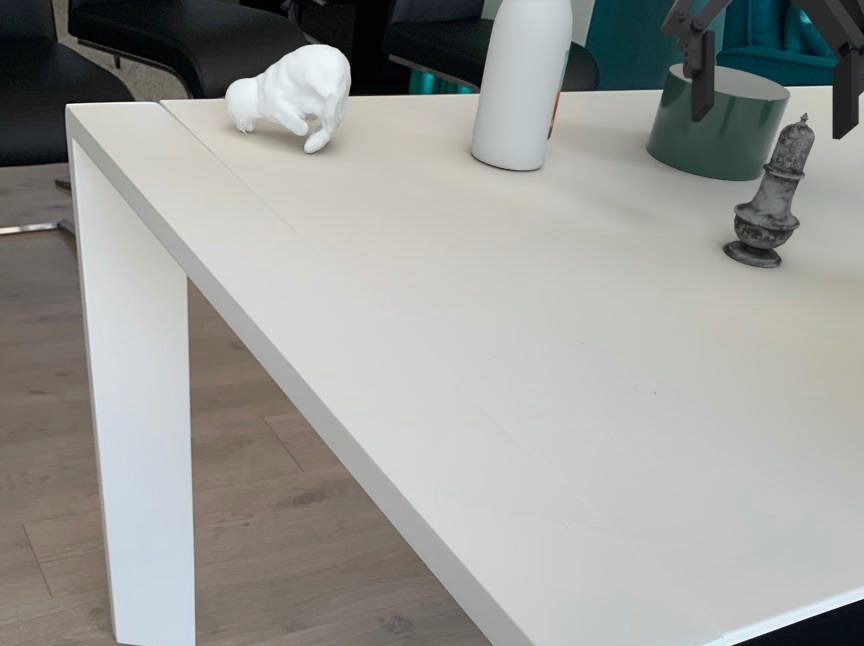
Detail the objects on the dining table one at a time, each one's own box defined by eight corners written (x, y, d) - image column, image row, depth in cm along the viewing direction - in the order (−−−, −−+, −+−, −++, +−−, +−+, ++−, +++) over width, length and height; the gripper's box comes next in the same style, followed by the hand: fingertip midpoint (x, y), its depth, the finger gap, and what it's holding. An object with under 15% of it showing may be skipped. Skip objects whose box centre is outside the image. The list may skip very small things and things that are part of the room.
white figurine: (344, 56, 90) (212, 45, 91) (342, 158, 96) (218, 147, 97) (356, 41, 95) (231, 31, 96) (354, 139, 101) (236, 129, 102)
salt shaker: (795, 270, 91) (855, 127, 83) (736, 266, 90) (790, 120, 82) (767, 244, 95) (821, 105, 87) (710, 240, 94) (759, 98, 86)
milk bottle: (534, 178, 100) (589, -64, 87) (460, 160, 101) (502, -82, 88) (550, 158, 106) (603, -73, 93) (479, 141, 107) (522, -89, 94)
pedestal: (772, 162, 116) (800, 86, 111) (748, 190, 107) (778, 107, 102) (664, 132, 120) (686, 56, 114) (632, 156, 111) (655, 75, 105)
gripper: (875, -61, 96) (875, 159, 95) (625, -102, 91) (623, 129, 91) (931, -123, 88) (932, 115, 87) (662, -170, 84) (660, 80, 83)
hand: (774, 123), depth 89 cm, fingers open, 13 cm apart
